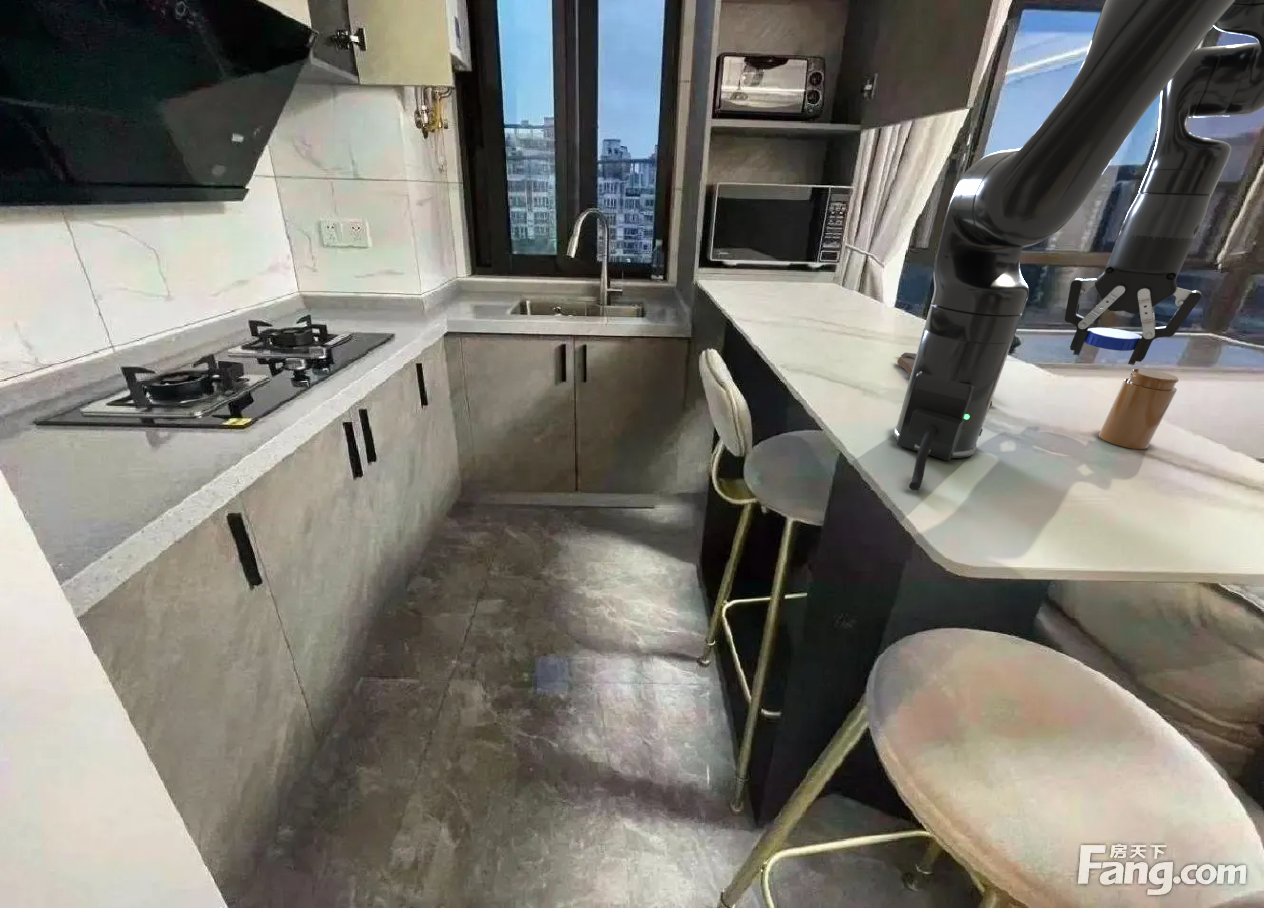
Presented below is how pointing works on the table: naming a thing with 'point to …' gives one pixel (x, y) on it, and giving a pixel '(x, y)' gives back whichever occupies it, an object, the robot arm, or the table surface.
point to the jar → (1139, 408)
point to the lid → (1112, 339)
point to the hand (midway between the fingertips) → (1103, 358)
